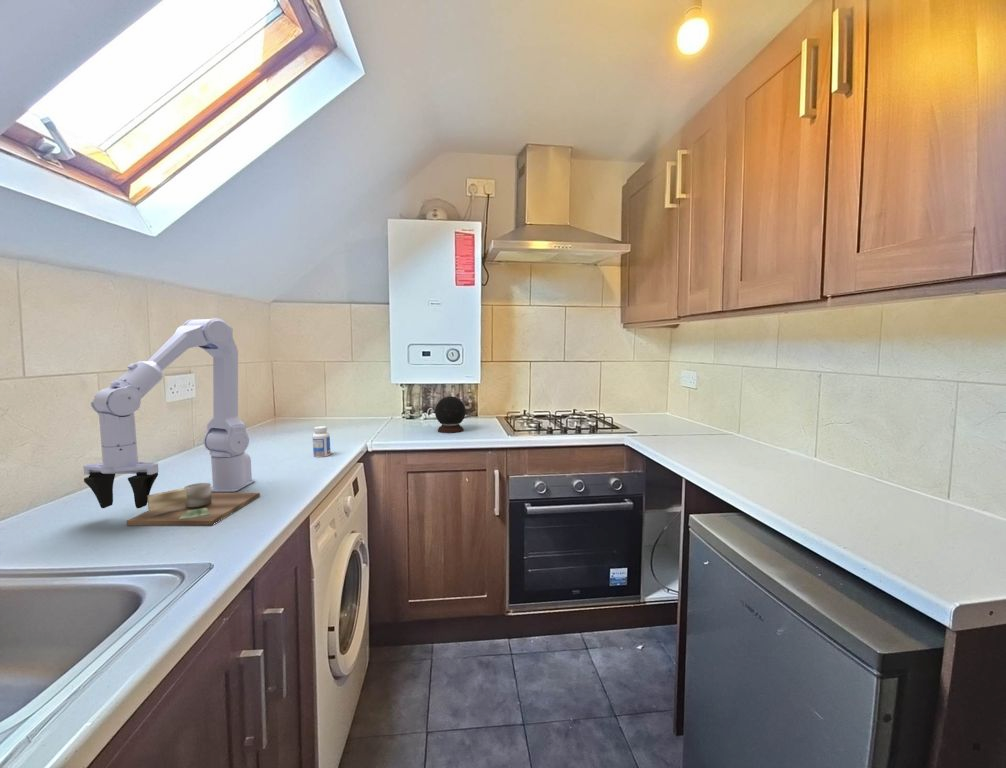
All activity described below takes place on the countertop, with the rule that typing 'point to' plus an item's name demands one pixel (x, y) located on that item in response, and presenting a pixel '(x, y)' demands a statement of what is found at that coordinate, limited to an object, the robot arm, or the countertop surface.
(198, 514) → the base
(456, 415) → the black ball on stand
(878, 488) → the countertop surface
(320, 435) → the pill bottle
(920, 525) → the countertop surface
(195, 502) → the beige elongated block piece
